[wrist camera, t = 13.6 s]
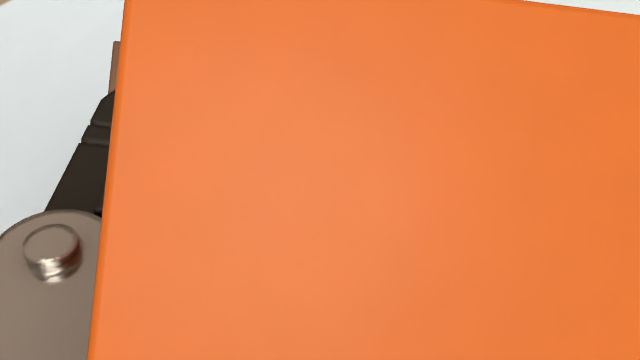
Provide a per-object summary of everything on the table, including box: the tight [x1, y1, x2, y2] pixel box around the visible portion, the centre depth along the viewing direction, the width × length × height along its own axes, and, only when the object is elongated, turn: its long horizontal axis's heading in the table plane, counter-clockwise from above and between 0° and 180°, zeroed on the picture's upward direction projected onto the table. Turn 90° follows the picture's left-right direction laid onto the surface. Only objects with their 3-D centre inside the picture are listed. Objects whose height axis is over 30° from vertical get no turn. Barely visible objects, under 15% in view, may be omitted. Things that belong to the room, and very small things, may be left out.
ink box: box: [87, 0, 640, 360], centre depth 9 cm, size 4×4×10 cm
